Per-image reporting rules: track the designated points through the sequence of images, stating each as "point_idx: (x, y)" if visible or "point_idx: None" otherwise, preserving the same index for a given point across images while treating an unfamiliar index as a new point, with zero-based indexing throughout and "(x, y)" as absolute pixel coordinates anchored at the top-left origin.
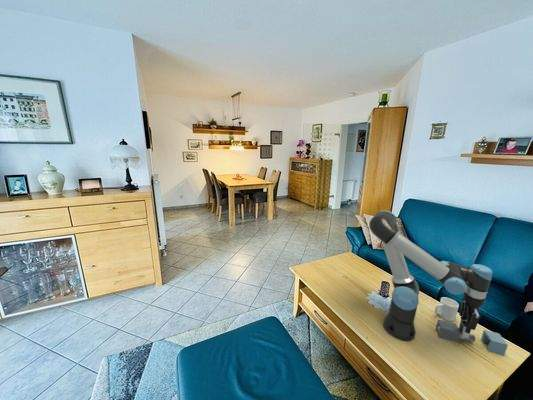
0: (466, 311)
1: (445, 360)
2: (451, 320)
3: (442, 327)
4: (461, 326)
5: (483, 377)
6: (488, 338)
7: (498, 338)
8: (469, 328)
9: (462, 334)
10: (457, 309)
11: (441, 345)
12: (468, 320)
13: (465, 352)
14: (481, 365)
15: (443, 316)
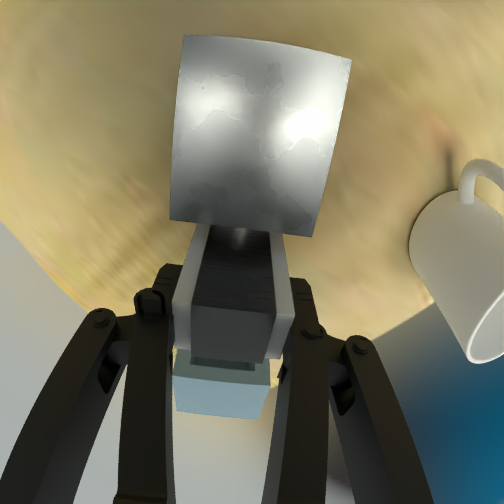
0: (273, 486)
1: (25, 44)
2: (411, 246)
3: (198, 40)
4: (237, 265)
5: (5, 197)
6: (208, 368)
7: (210, 404)
8: (89, 319)
9: (195, 229)
10: (454, 333)
11: (129, 39)
12: (125, 398)
13: (118, 182)
14: (62, 225)
15: (442, 208)
